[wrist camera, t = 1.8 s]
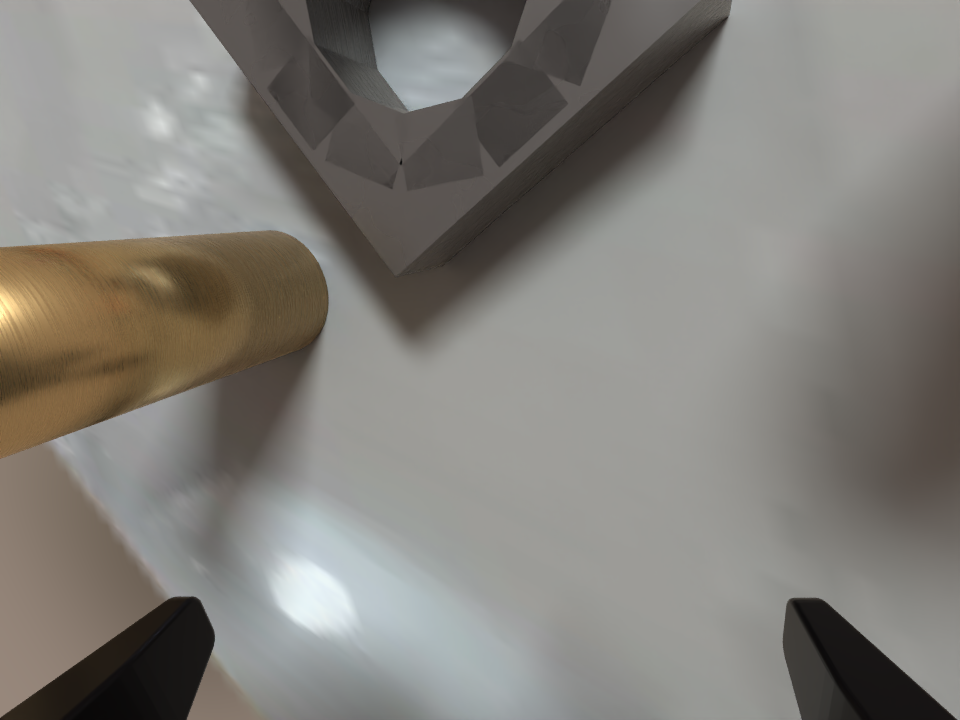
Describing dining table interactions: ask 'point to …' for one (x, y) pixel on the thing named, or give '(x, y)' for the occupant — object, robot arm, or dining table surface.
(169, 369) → the gold metallic cylinder
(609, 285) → the dining table surface
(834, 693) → the robot arm
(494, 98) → the block
